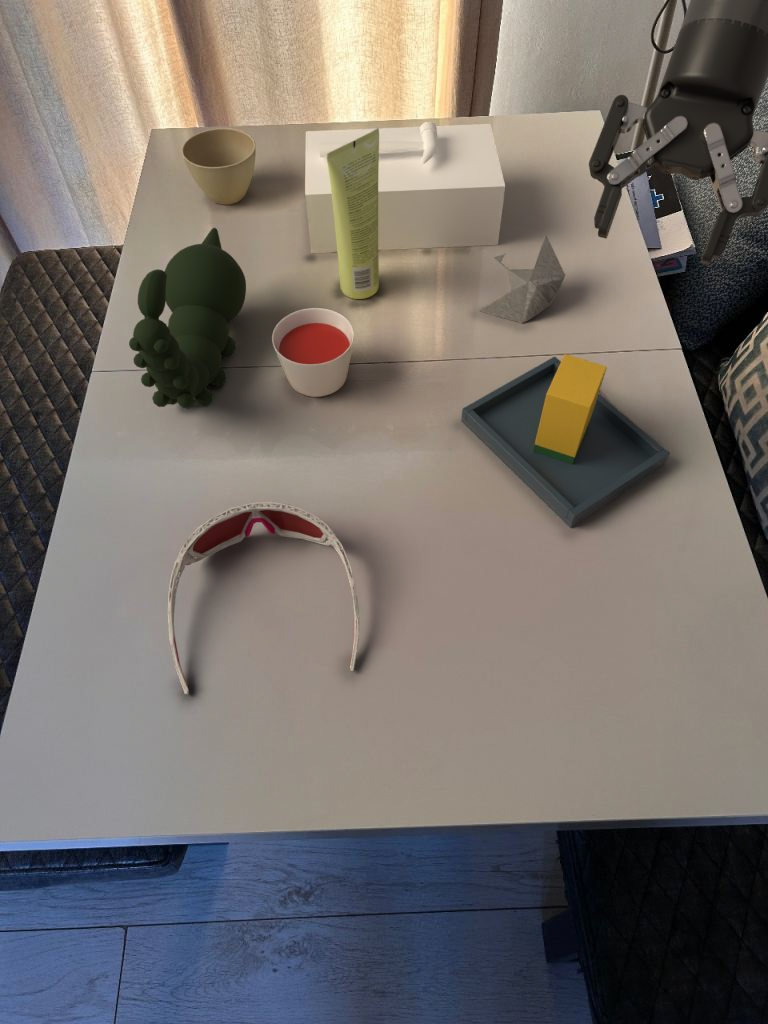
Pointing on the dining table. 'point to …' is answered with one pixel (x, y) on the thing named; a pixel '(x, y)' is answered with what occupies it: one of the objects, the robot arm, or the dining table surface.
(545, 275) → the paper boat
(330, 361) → the white round cup
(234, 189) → the flower pot
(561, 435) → the sponge
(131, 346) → the toy figurine
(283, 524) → the sunglasses
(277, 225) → the dining table surface
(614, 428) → the tray
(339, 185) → the tube
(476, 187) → the tissue box
